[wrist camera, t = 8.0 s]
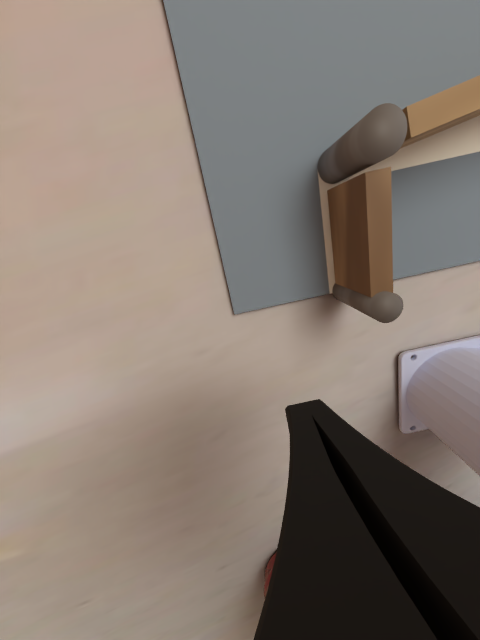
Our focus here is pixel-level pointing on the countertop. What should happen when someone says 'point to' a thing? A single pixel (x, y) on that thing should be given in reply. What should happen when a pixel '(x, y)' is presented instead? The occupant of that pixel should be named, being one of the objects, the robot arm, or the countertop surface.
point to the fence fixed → (364, 212)
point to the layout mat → (324, 130)
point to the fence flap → (442, 110)
